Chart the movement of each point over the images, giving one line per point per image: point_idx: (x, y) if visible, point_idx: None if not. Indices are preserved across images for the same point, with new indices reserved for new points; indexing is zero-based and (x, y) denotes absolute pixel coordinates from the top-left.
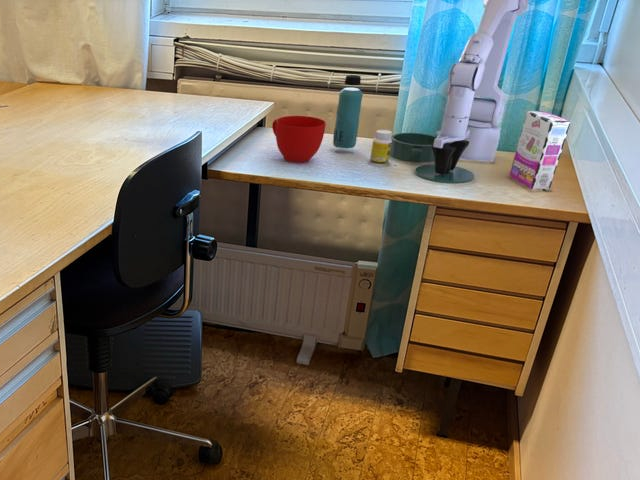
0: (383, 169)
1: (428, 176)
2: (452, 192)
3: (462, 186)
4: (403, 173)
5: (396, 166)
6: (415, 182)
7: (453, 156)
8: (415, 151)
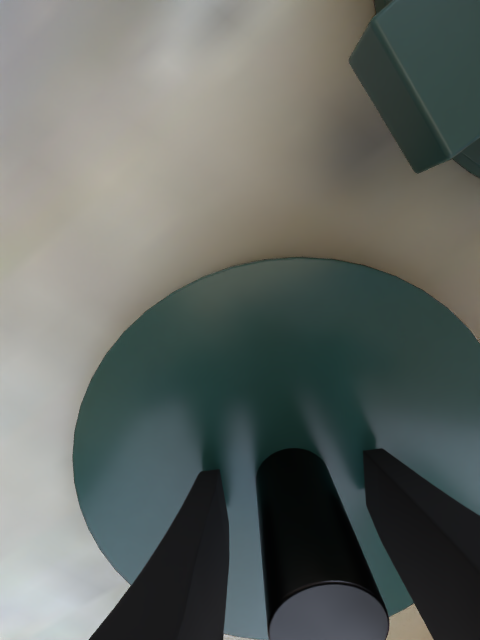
0: (30, 32)
1: (106, 471)
2: (76, 636)
3: None
4: (103, 235)
5: (216, 44)
6: (17, 425)
7: (440, 612)
8: (389, 77)
